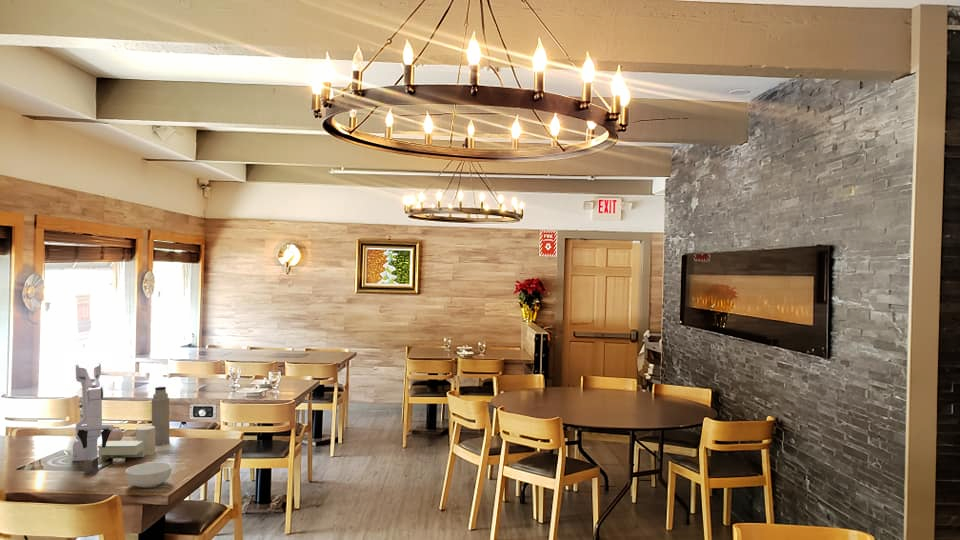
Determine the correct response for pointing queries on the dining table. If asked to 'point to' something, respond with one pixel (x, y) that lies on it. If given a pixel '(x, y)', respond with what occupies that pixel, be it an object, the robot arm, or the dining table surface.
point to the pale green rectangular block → (121, 449)
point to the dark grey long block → (93, 465)
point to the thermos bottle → (160, 415)
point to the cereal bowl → (148, 474)
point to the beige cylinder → (146, 438)
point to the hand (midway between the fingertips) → (94, 447)
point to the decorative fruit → (115, 434)
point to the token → (118, 460)
